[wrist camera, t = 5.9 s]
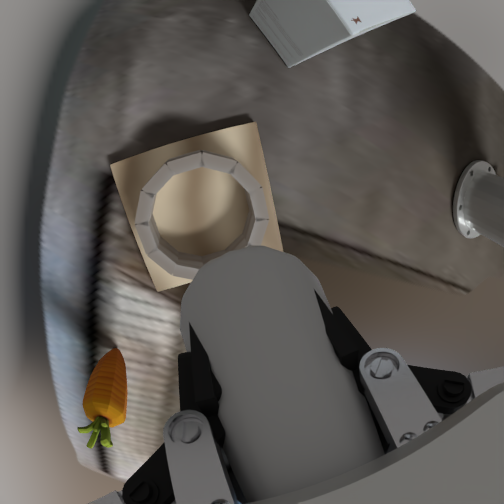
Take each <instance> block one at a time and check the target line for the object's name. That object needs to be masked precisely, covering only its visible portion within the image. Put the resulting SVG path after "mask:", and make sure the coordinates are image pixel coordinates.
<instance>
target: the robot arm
mask: <svg viewBox="0 0 504 504" xmlns="http://www.w3.org/2000/svg"><path fill="white" fill-rule="evenodd" d="M453 217H454V223H455V225H456V228H457V230H458V231H459V233H460V234H462V235H463V236H465V237H467V238H475V237H477V236H479V235H480V234H481V235H483V236H485V237H487V238H489V239H490V240H492V241H494V242H496V243H497V244H499V245H501V246H503V247H504V178H503V177H500V176H497V175H496V173H495V171H494V169H493V167H492V166H491V165H490V164H489V163H487V162H485V161H481V160H476V161H473V162H472V163H470V164H469V165H468V166H467V167H466V168H465V170H464V171H463V173H462V175H461V177H460V178H459V181H458V184H457V187H456V190H455V195H454V201H453ZM314 292H315V295H316V298H317V301H318V305H319V308H320V311H321V315H322V318H323V321H324V325H325V330H326V334H327V336H328V338H329V340H330V341H331V344H332V345H333V349H334V352H335V354H336V356H337V357H338V359H339V361H340V363H341V365H342V366H344V367H345V368H347V369H348V370H351V371H353V375H354V378H355V381H356V384H357V388H358V391H359V392H360V393H361V394H362V395H364V396H365V398H366V401H367V403H368V406H369V409H370V412H371V415H372V418H373V421H374V423H375V426H376V429H377V432H378V435H379V438H380V441H381V444H382V447H383V450H384V453H385V455H383V456H381V457H379V458H377V459H375V460H373V461H371V462H369V463H367V464H365V465H362V466H360V467H358V468H356V469H353V470H351V471H349V472H346V473H344V474H341V475H339V476H336V477H334V478H331V479H329V480H326V481H323V482H321V483H318V484H315V485H312V486H309V487H306V488H303V489H300V490H297V491H293V492H290V493H287V494H283V495H280V496H276V497H272V498H268V499H264V500H260V501H256V502H251V503H248V502H247V500H246V498H245V496H244V494H243V492H242V490H241V488H240V485H239V483H238V481H237V479H236V477H235V475H234V473H233V470H232V468H231V466H230V464H229V461H228V459H227V457H226V454H225V452H224V450H223V446H224V441H225V429H224V427H223V425H222V423H221V421H220V419H219V417H218V411H219V403H218V401H219V400H220V398H221V395H222V388H221V386H220V384H219V382H218V380H217V379H216V377H215V375H214V374H213V372H212V370H211V367H210V362H209V357H208V354H207V352H206V351H205V349H204V347H203V345H202V344H201V342H200V340H199V338H198V336H197V335H196V333H195V331H194V329H193V327H192V326H191V324H190V322H189V332H190V347H191V352H190V351H189V352H185V353H181V354H179V355H178V372H179V395H180V412H178V413H175V414H174V415H173V416H171V417H170V418H169V419H168V421H167V422H166V424H165V426H164V430H163V436H164V443H163V444H162V445H161V447H160V448H159V449H158V450H157V451H156V452H155V453H154V454H153V455H152V456H151V457H150V458H149V459H148V460H147V461H146V462H145V463H144V464H143V465H142V466H141V467H140V468H139V469H138V470H137V471H136V472H135V473H134V474H133V475H132V476H131V477H130V478H129V479H128V480H127V482H126V483H125V484H124V487H123V490H122V491H120V492H117V491H113V492H111V493H109V494H107V495H105V496H104V497H102V498H99V499H97V500H95V501H93V502H91V503H88V504H504V367H499V368H495V369H489V370H484V371H478V372H473V373H469V375H468V376H464V375H462V374H461V373H457V372H453V371H445V370H437V369H430V368H423V367H417V366H411V365H407V364H406V362H405V361H404V359H403V358H402V356H401V355H400V354H399V353H397V352H396V351H394V350H392V349H388V348H378V349H374V350H371V348H370V347H369V345H368V344H367V343H366V342H365V340H364V339H363V338H362V336H361V335H360V334H359V332H358V331H357V330H356V328H355V327H354V326H353V325H352V323H351V322H350V321H349V320H348V318H347V317H346V316H345V314H344V313H343V312H342V311H341V309H340V308H339V307H333V308H331V310H332V312H331V311H330V310H329V308H328V307H327V306H326V304H325V303H324V302H323V300H322V299H321V297H320V296H319V295H318V293H317V292H316V291H315V289H314ZM332 313H333V314H332Z"/></svg>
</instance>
